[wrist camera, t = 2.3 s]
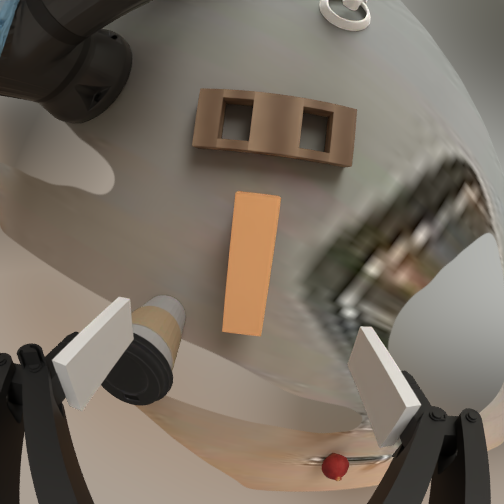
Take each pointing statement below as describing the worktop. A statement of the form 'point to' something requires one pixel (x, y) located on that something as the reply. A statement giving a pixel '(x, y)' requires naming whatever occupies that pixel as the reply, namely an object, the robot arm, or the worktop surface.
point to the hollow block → (275, 125)
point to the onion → (335, 466)
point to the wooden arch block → (250, 261)
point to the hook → (351, 2)
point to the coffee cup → (148, 353)
